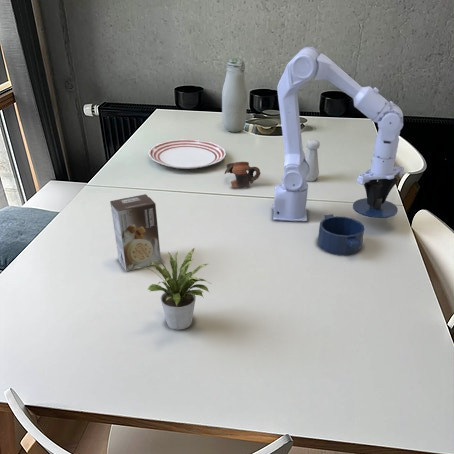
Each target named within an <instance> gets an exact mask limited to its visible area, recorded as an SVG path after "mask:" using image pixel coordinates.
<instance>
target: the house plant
mask: <svg viewBox="0 0 454 454" xmlns="http://www.w3.org/2000/svg"><path fill="white" fill-rule="evenodd" d="M195 249H196V247H194V248H192V249H191V250H189V251H188V253H187V254H186V256H185V257H184V260H183V262H182V264H181V265H180V268H179V272H178V251H179V250H177V251H176V253H175V255H174V257H173V256H172V254H171V253H170V252H169V251H167V254H168V257H169V264H170V268H171V272H170V271H169V270H168V268H167V267H166V266H165V264H164V263H163V262H162V261H161V262H160V261H158V260H156V261H158V262H160V263H159V264H161V265H162V267H163V268H162V267H161V266H160V265H159V264H158V263H157V264H156V263H155V262H152V261H151V262H152V263H151V262H150V263H151V264H152V265H151V266H153V267H154V268H155V270H156V271H157V272H158V273H160V275H161V276H162V277H163V278H162V277H161V276H160V275H159V274H158V273H156V272H155V270H153V269H151V268H149V267H146V266H145V267H137V268H138V269H145V270H148V271H151V272H153V273H155V274H156V275H157V276H158V277H159V278H160V279H161V280H162V281H159V282H157V283H152V284H150V285H149V286H148V288H147V289H146V290H147V291H148V293H150V292H157V291H159V292H160V291H162V292H163V293H162V294H161V296H160V302H161V303H160V304H161V306H162V310H163V313H164V317H165V321H166V324H167V326H168V327H169V328H170V329H172V330H175V331H176V330H180V331H181V330H186V329H187V328H189V327H190V326H191V325H192V323H193V317H194V313H195V312H194V310H195V305H196V297H197V296H200V297H201V298H203V299H204V298H205V297H204V295H203V293H204V291H206V292H208V293H209V294H210V291H209V288H208V287H207V286H206V285H205V284H201V283H200V284H198V283H197V282H206V283H208V284H211V285H212V283H211V282H209V281H207V279H205V278H199V277H196V276H194V275H195V274H196V273H197V272H199V271H200V269H202V268H203V267H206V266H208V265H209V263H203V264H200V265H198V266H197V267H196V268H194V269H193V270H192V271H189V272H188V269H189V267H190V265H191V263H192V262H193V260H194V258H192V257H193V255H194V252H195ZM153 260H154V259H153ZM170 273H171V274H170ZM160 283H161V284H163V285H164V287H162V285H159V284H160ZM195 283H197V284H195ZM194 288H195V289H194Z"/></svg>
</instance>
